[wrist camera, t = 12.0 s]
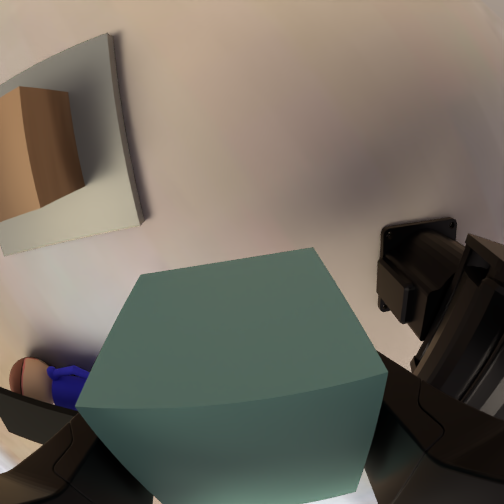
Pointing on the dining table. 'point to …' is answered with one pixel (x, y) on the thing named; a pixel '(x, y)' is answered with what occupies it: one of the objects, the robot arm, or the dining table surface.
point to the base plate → (82, 152)
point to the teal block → (238, 384)
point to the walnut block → (36, 150)
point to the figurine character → (40, 398)
